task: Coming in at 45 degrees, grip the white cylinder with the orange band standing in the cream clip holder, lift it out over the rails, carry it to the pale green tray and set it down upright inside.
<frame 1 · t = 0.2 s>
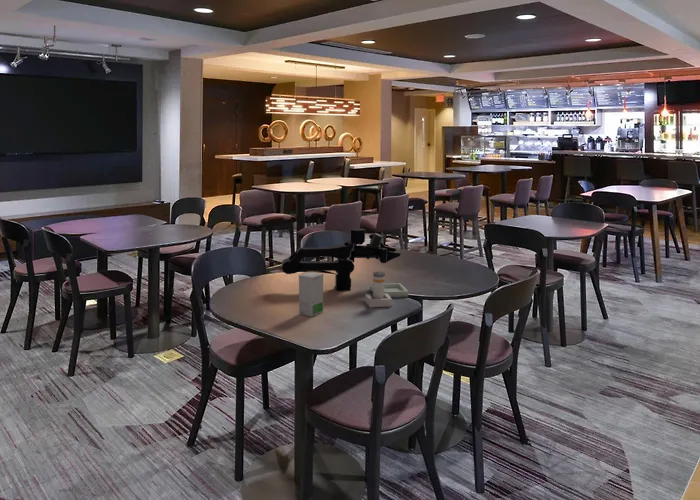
hand: (398, 252, 263), 16 cm above the table, tool horizontal, fingers open, 9 cm apart
skincare box: (311, 313, 226), on the table
tray: (388, 293, 256), on the table
clip holder: (378, 303, 240), on the table
white cylinder: (378, 288, 239), in the clip holder
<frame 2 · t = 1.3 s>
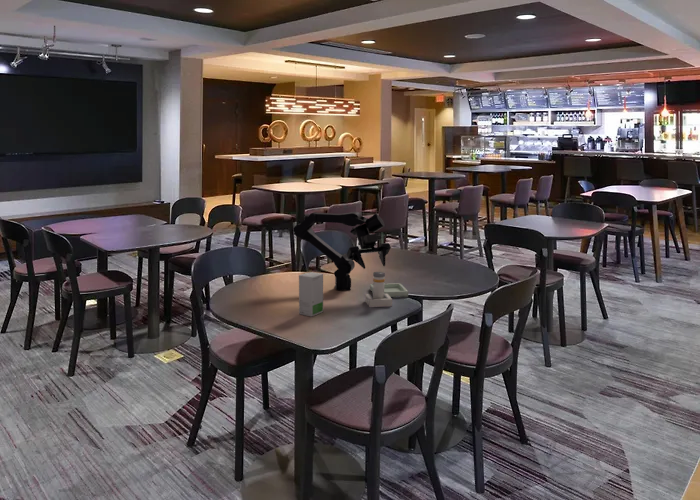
hand: (374, 267, 245), 14 cm above the table, tool tilted 45°, fingers open, 9 cm apart
nothing on the table moved.
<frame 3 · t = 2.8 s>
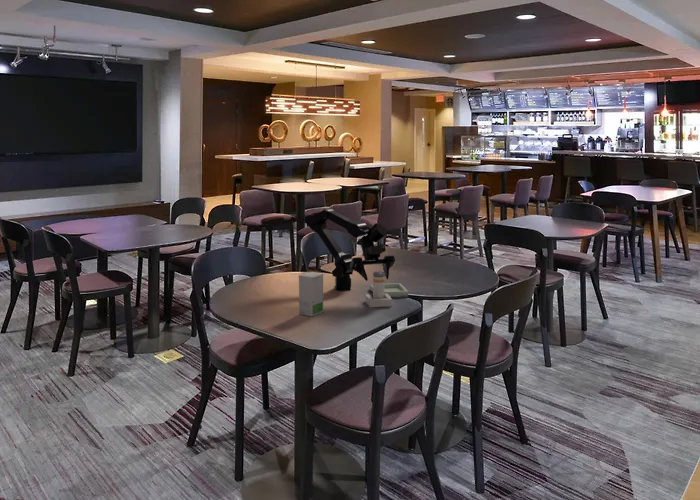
hand: (377, 279, 240), 10 cm above the table, tool tilted 45°, fingers open, 9 cm apart
nothing on the table moved.
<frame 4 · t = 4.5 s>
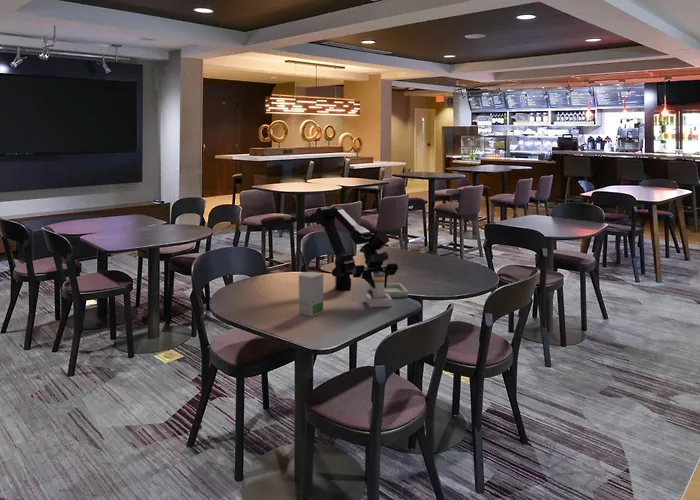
hand: (380, 287, 237), 7 cm above the table, tool tilted 45°, fingers closed on white cylinder, 5 cm apart
white cylinder: (378, 288, 239), in the clip holder, touching gripper
everything else where it was.
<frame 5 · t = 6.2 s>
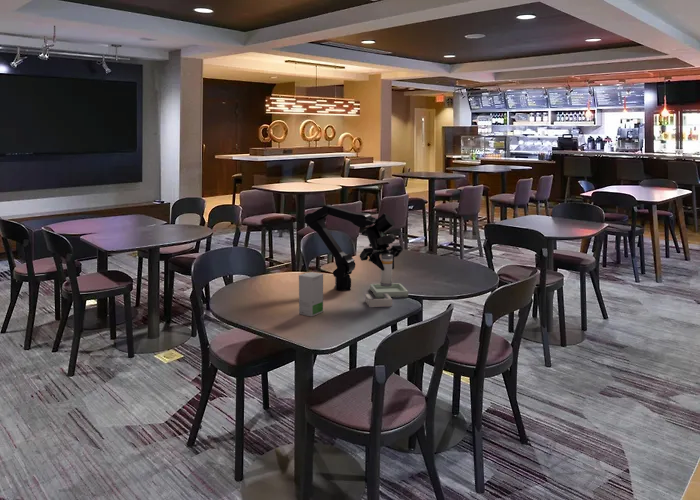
hand: (388, 269, 242), 13 cm above the table, tool tilted 45°, fingers closed on white cylinder, 5 cm apart
white cylinder: (386, 270, 244), point 13 cm above the table, touching gripper
everything else where it was.
when the fingers open (9 cm above the table, at t = 8.4 s): white cylinder drops 1 cm, resting on tray.
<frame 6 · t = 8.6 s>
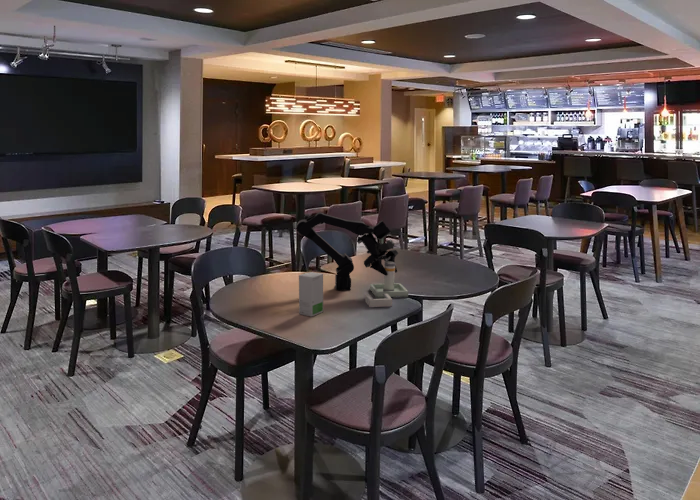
hand: (391, 273, 253), 9 cm above the table, tool tilted 45°, fingers open, 7 cm apart
white cylinder: (389, 276, 254), in the tray, point 7 cm above the table
everything else where it was.
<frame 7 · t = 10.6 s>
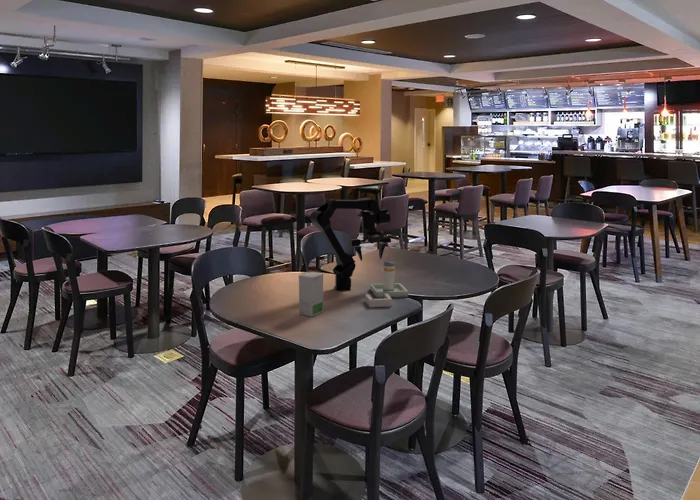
hand: (371, 259, 265), 12 cm above the table, tool pointing down, fingers open, 9 cm apart
nothing on the table moved.
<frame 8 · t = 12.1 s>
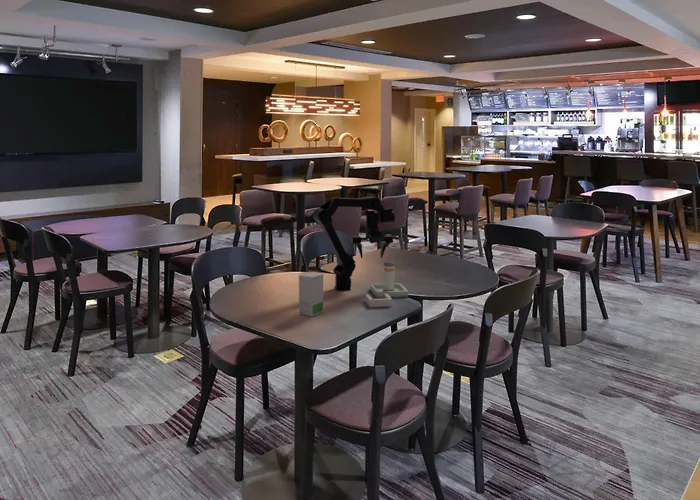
hand: (371, 257, 266), 13 cm above the table, tool pointing down, fingers open, 9 cm apart
nothing on the table moved.
at the end: white cylinder inside the target area on the tray (0.1 cm from its centre), point 7.3 cm above the tray's base; white cylinder tilted 0°; the gripper is holding nothing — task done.
